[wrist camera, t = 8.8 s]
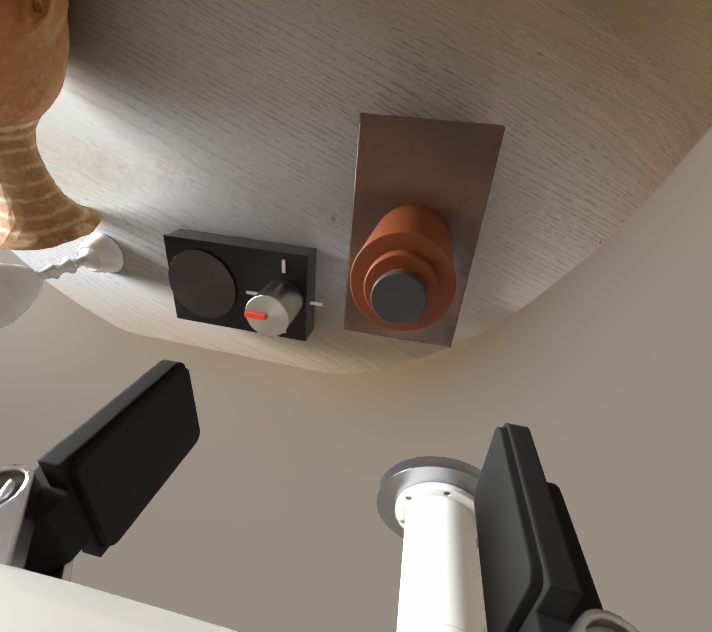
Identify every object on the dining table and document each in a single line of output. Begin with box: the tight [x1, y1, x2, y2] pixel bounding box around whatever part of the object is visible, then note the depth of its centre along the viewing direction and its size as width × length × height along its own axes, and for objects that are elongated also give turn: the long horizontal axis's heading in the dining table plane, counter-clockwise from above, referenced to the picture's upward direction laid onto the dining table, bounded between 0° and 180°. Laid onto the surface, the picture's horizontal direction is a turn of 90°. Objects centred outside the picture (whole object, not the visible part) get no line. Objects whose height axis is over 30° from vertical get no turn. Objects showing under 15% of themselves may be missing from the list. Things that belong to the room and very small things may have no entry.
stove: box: [163, 229, 323, 341], centre depth 40 cm, size 10×18×3 cm, turn 85°
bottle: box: [350, 205, 457, 331], centre depth 21 cm, size 6×6×10 cm
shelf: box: [343, 113, 505, 348], centre depth 30 cm, size 16×9×10 cm, turn 175°
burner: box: [168, 249, 237, 318], centre depth 39 cm, size 8×8×1 cm
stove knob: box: [244, 279, 304, 336], centre depth 36 cm, size 4×4×5 cm
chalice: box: [0, 233, 124, 328], centre depth 36 cm, size 7×7×18 cm
